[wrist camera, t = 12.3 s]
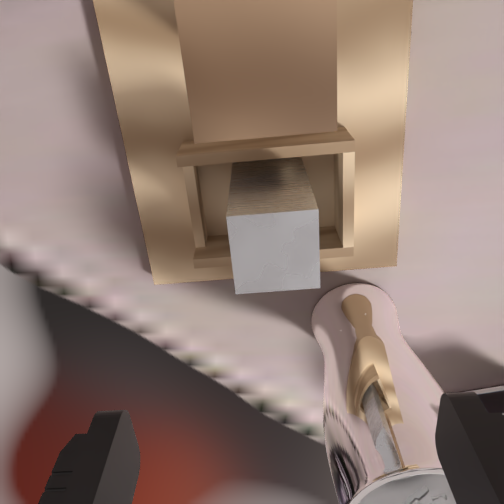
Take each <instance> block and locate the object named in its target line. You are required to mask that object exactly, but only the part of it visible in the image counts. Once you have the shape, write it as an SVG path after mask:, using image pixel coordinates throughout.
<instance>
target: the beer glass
mask: <svg viewBox="0 0 504 504" xmlns="http://www.w3.org/2000/svg"><path fill="white" fill-rule="evenodd" d="M311 326H312V330H313V333H314V336H315V338H316V340H317V342H318V344H319V346H320V348H321V350H322V353H323V356H324V363H325V368H324V392H323V427H324V436H325V443H326V451H327V456H328V460H329V465H330V470H331V475H332V479H333V483H334V487H335V490H336V494H337V498H338V501H339V504H456V501H455V499H454V496H453V494H452V491H451V489H450V486H449V484H448V481H447V479H446V476H445V474H444V471H443V469H442V466H441V464H440V461H439V458H438V455H437V450H436V444H435V431H436V425H437V418H438V411H439V405H440V398H441V395H442V394H443V393H445V392H444V391H443V389H442V388H441V387H440V385H439V384H438V382H437V381H436V379H435V378H434V377H433V375H432V374H431V373H430V371H429V370H428V369H427V368H426V366H425V365H424V364H423V363H422V361H421V360H420V359H419V358H418V356H417V355H416V354H415V353H414V352H413V350H412V349H411V348H410V346H409V345H408V344H407V342H406V341H405V339H404V338H403V336H402V333H401V331H400V327H399V321H398V314H397V310H396V307H395V304H394V302H393V300H392V299H391V298H390V296H389V295H388V294H387V293H386V292H384V291H383V290H382V289H380V288H378V287H376V286H373V285H370V284H365V283H351V284H346V285H342V286H339V287H337V288H335V289H333V290H331V291H329V292H328V293H326V294H325V295H324V296H323V297H322V298H321V299H320V300H319V302H318V303H317V304H316V306H315V308H314V310H313V313H312V319H311Z"/></svg>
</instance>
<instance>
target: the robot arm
mask: <svg viewBox="0 0 504 504" xmlns="http://www.w3.org/2000/svg"><path fill="white" fill-rule="evenodd" d="M435 444H436V450H437V455H438V458H439V461H440V464H441V466H442V469H443V471H444V474H445V476H446V479H447V481H448V484H449V486H450V489H451V491H452V494H453V496H454V499H455V501H456V504H504V415H503V414H502V413H488V412H487V410H486V409H485V407H484V405H483V403H482V402H481V400H480V398H479V396H478V395H477V394H476V393H475V392H457V393H443V394H442V395H441V398H440V405H439V411H438V418H437V425H436V431H435ZM139 469H140V451H139V446H138V443H137V439H136V436H135V432H134V429H133V425H132V422H131V419H130V415H129V413H128V411H127V410H116V411H99V412H97V413H96V414H95V415H94V417H93V420H92V422H91V425H90V427H89V430H88V433H87V434H75V436H74V437H73V438H72V439H71V440H70V441H69V443H68V444H67V445H66V446H65V447H64V449H62V451H61V452H60V454H59V456H58V458H57V461H56V463H55V466H54V468H53V470H52V475H51V476H50V477H49V480H48V482H47V484H46V487H45V492H44V493H43V494H42V496H41V498H40V501H39V503H38V504H132V500H133V496H134V492H135V488H136V484H137V479H138V475H139Z"/></svg>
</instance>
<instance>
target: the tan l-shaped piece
mask: <svg viewBox="0 0 504 504" xmlns="http://www.w3.org/2000/svg"><path fill="white" fill-rule="evenodd" d="M93 4H94V8H95V13H96V17H97V22H98V27H99V31H100V36H101V40H102V45H103V50H104V54H105V59H106V64H107V68H108V73H109V77H110V82H111V87H112V91H113V96H114V101H115V105H116V110H117V114H118V119H119V124H120V128H121V133H122V137H123V142H124V147H125V151H126V156H127V161H128V165H129V170H130V174H131V179H132V184H133V188H134V193H135V197H136V202H137V207H138V211H139V216H140V221H141V225H142V230H143V234H144V239H145V244H146V248H147V253H148V258H149V262H150V267H151V271H152V276H153V281H154V285H158V284H171V283H184V282H197V281H210V280H223V279H234V277H233V269H232V261H231V252H230V244H229V236H228V228H227V220H226V214H227V205H228V197H229V188H230V180H231V171H232V163H233V162H244V161H256V160H267V159H279V158H290V157H301V158H302V161H303V164H304V167H305V170H306V173H307V176H308V179H309V182H310V185H311V188H312V191H313V194H314V197H315V200H316V203H317V206H318V209H319V249H320V272H327V271H340V270H353V269H365V268H378V267H391V266H397V250H398V234H399V218H400V201H401V185H402V169H403V153H404V137H405V120H406V104H407V88H408V72H409V56H410V40H411V23H412V7H413V0H93Z"/></svg>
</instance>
